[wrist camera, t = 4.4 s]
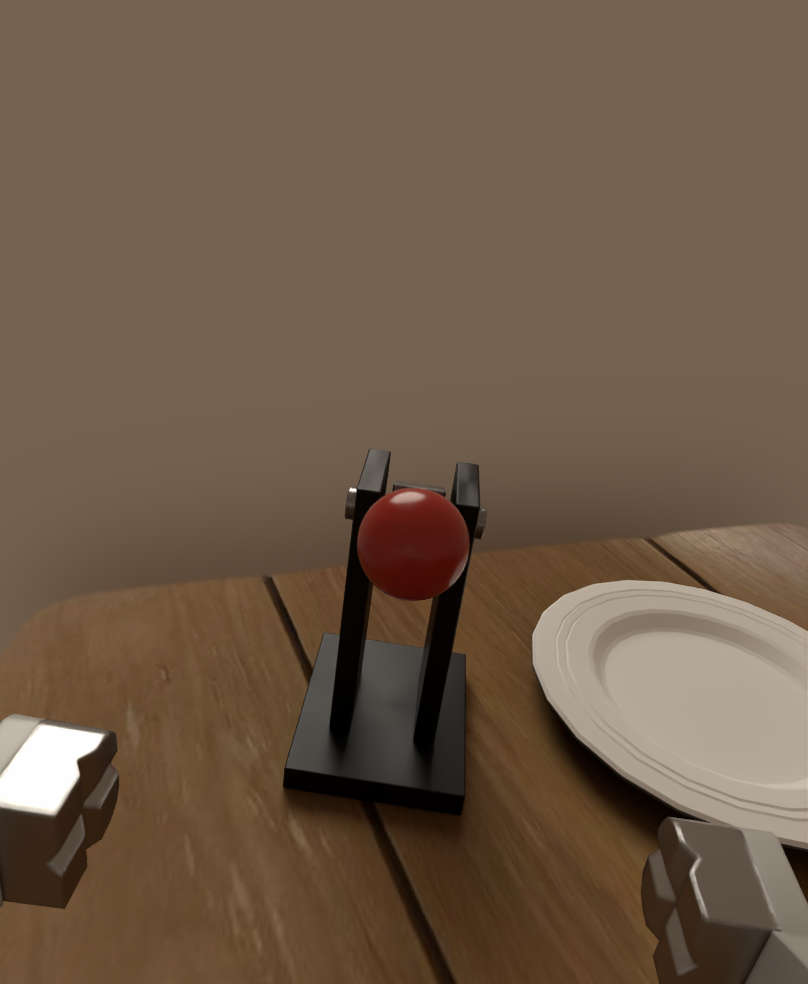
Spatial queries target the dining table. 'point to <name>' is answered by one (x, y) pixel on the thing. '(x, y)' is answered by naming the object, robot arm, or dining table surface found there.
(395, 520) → the lever
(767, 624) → the plate
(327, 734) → the switch bracket
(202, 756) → the dining table surface
